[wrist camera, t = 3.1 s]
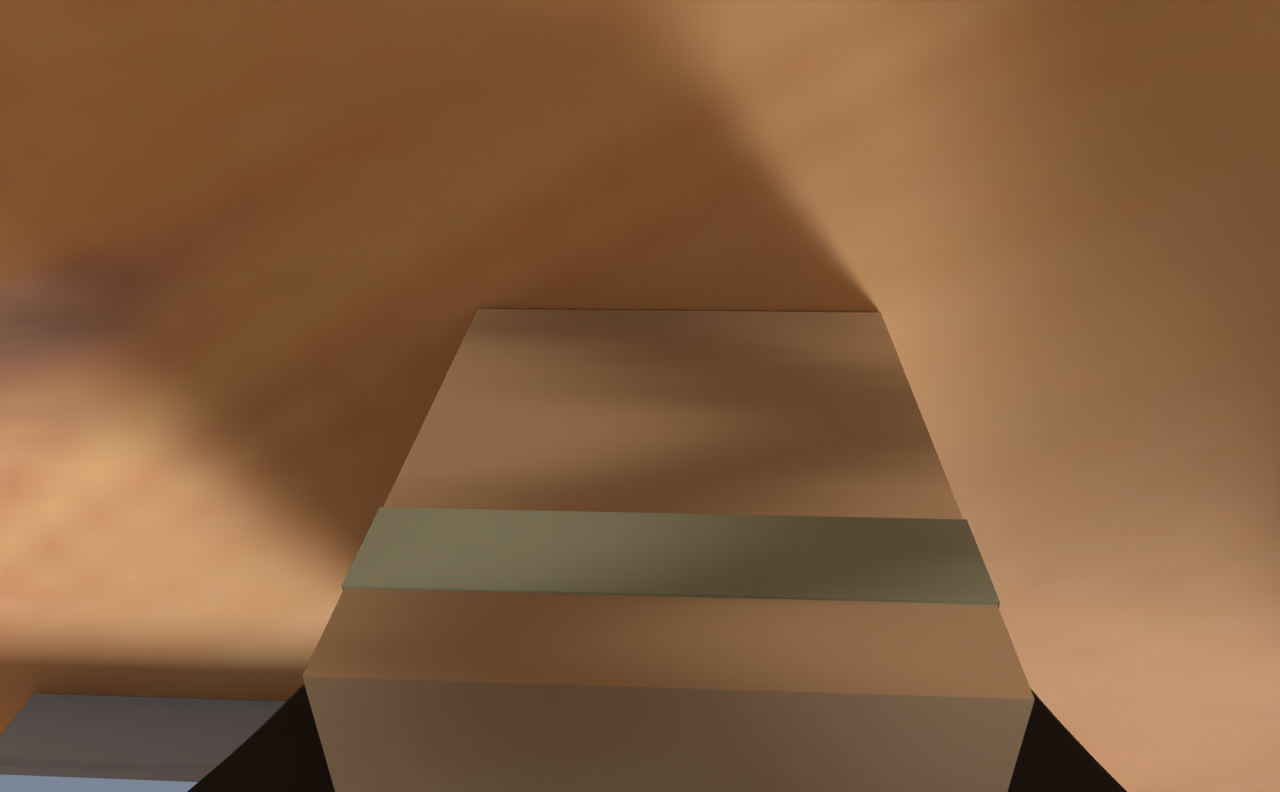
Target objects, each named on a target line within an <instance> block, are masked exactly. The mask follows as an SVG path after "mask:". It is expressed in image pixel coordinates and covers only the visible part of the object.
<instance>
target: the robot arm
mask: <svg viewBox="0 0 1280 792" xmlns="http://www.w3.org/2000/svg"><path fill="white" fill-rule="evenodd" d="M1030 689H1031V688H1030ZM1031 691H1032V689H1031ZM1032 694H1033V696H1034V699H1035V700H1034V703H1033V707H1032V710H1031V713H1030V717H1029V720H1028V724H1027V727H1026V730H1025V734H1024V737H1023V741H1022V744H1021V747H1020V751H1019V754H1018V758H1017V761H1016V764H1015V768H1014V771H1013V775H1012V778H1011V781H1010V785H1009V788H1008V792H1127V791H1126V790H1125V789H1124V788H1123V787H1122V786H1121V785H1120V784H1119V783H1118V782H1117V781H1116V780H1115V779H1114V778H1113V777H1112V776H1111V775H1110V774H1109V773H1108V772H1107V771H1106V770H1105V769H1104V768H1103V767H1102V766H1101V765H1100V764H1099V763H1098V762H1097V761H1096V760H1095V759H1094V758H1093V757H1092V756H1091V755H1090V754H1089V753H1088V751H1087V750H1086V749H1085V748H1084V747H1083V746H1082V745H1081V744H1080V743H1079V742H1078V741H1077V740H1076V739H1075V738H1074V737H1073V735H1072V734H1071V733H1070V732H1069V731H1068V730H1067V729H1066V728H1065V727H1064V726H1063V725H1062V724H1061V723H1060V721H1059V720H1058V719H1057V718H1056V717H1055V716H1054V715H1053V714H1052V712H1051V711H1050V710H1049V709H1048V708H1047V707H1046V706H1045V705H1044V703H1043V702H1042V701H1041V700H1040V699H1039V698H1038V697H1037V695H1036V694H1035V693H1034V692H1033V691H1032ZM187 792H335V790H334V786H333V782H332V779H331V775H330V772H329V768H328V765H327V761H326V758H325V754H324V751H323V747H322V744H321V740H320V737H319V733H318V730H317V726H316V723H315V719H314V716H313V712H312V709H311V705H310V702H309V698H308V695H307V691H306V688H305V684H303V685H302V686H301V687H300V688H299V689H298V690H297V691H296V692H295V693H294V694H293V695H292V696H291V697H290V698H289V699H288V700H287V701H286V702H285V703H284V704H283V705H282V706H281V707H280V708H279V709H278V710H277V711H276V712H275V713H274V714H273V715H272V716H271V717H270V718H269V719H268V720H267V721H266V722H265V723H264V724H263V725H262V726H261V727H260V728H259V729H258V730H256V731H255V732H254V733H253V734H252V735H251V736H250V737H249V738H248V739H247V740H246V741H245V742H243V743H242V744H241V745H240V746H239V747H238V748H237V749H236V750H235V751H233V752H232V753H231V754H230V755H229V756H228V757H227V758H226V759H225V760H223V761H222V762H221V763H220V764H219V765H218V766H216V767H215V768H214V769H213V770H212V771H211V772H209V773H208V774H207V775H206V776H205V777H204V778H202V779H201V780H200V781H199V782H198V783H197V784H195V785H194V786H193V787H192V788H191V789H189V790H188V791H187Z"/></svg>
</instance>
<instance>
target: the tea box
mask: <svg viewBox="0 0 1280 792" xmlns="http://www.w3.org/2000/svg"><path fill="white" fill-rule="evenodd" d="M342 589H343V592H342V594H341V596H340V599H339V601H338V603H337V605H336V607H335V609H334V611H333V613H332V615H331V617H330V619H329V622H328V624H327V626H326V628H325V630H324V632H323V634H322V636H321V638H320V640H319V642H318V645H317V647H316V649H315V651H314V653H313V655H312V657H311V659H310V661H309V663H308V665H307V668H306V670H305V672H304V674H303V676H302V677H303V681H304V684H305V688H306V691H307V695H308V698H309V702H310V705H311V709H312V712H313V716H314V719H315V723H316V726H317V730H318V733H319V737H320V740H321V744H322V747H323V751H324V754H325V758H326V761H327V765H328V768H329V772H330V775H331V779H332V782H333V786H334V790H335V792H1008V788H1009V785H1010V781H1011V778H1012V775H1013V771H1014V768H1015V764H1016V761H1017V758H1018V754H1019V751H1020V747H1021V744H1022V741H1023V737H1024V734H1025V730H1026V727H1027V724H1028V720H1029V717H1030V713H1031V710H1032V707H1033V703H1034V700H1035V699H1034V696H1033V694H1032V691H1031V689H1030V686H1029V684H1028V681H1027V679H1026V676H1025V674H1024V671H1023V669H1022V666H1021V664H1020V661H1019V659H1018V656H1017V654H1016V651H1015V649H1014V646H1013V644H1012V641H1011V639H1010V636H1009V634H1008V631H1007V629H1006V626H1005V624H1004V621H1003V619H1002V616H1001V614H1000V611H999V605H1000V601H999V599H998V596H997V594H996V591H995V589H994V586H993V584H992V581H991V579H990V576H989V574H988V571H987V569H986V566H985V564H984V562H983V559H982V557H981V554H980V552H979V549H978V547H977V544H976V542H975V539H974V537H973V534H972V532H971V529H970V527H969V524H968V522H967V520H966V519H963V518H962V516H961V513H960V511H959V508H958V506H957V503H956V501H955V498H954V496H953V493H952V491H951V488H950V486H949V483H948V481H947V478H946V476H945V473H944V471H943V468H942V466H941V463H940V461H939V458H938V455H937V453H936V450H935V448H934V445H933V443H932V440H931V438H930V435H929V433H928V430H927V428H926V425H925V423H924V420H923V418H922V415H921V413H920V410H919V408H918V405H917V403H916V400H915V398H914V395H913V393H912V390H911V388H910V385H909V383H908V380H907V378H906V375H905V373H904V370H903V368H902V365H901V363H900V360H899V358H898V355H897V353H896V350H895V348H894V345H893V343H892V340H891V338H890V335H889V333H888V330H887V327H886V325H885V322H884V320H883V317H882V315H881V312H779V311H672V310H565V309H478V310H477V312H476V314H475V316H474V318H473V320H472V322H471V324H470V326H469V328H468V331H467V333H466V335H465V337H464V339H463V341H462V343H461V345H460V347H459V349H458V351H457V354H456V356H455V358H454V360H453V362H452V364H451V366H450V368H449V370H448V372H447V374H446V377H445V379H444V381H443V383H442V385H441V387H440V389H439V391H438V393H437V395H436V398H435V400H434V402H433V404H432V406H431V408H430V410H429V412H428V414H427V416H426V418H425V421H424V423H423V425H422V427H421V429H420V431H419V433H418V435H417V437H416V439H415V441H414V444H413V446H412V448H411V450H410V452H409V454H408V456H407V458H406V460H405V462H404V465H403V467H402V469H401V471H400V473H399V475H398V477H397V479H396V481H395V483H394V485H393V488H392V490H391V492H390V494H389V496H388V498H387V500H386V502H385V504H384V506H383V507H379V509H378V512H377V514H376V516H375V518H374V520H373V522H372V524H371V526H370V528H369V530H368V532H367V534H366V536H365V538H364V541H363V543H362V545H361V547H360V549H359V551H358V553H357V555H356V557H355V559H354V561H353V563H352V565H351V567H350V570H349V572H348V574H347V576H346V578H345V580H344V582H343V584H342Z"/></svg>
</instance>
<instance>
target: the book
mask: <svg viewBox="0 0 1280 792" xmlns="http://www.w3.org/2000/svg"><path fill="white" fill-rule="evenodd" d="M285 702H286V701H256V700H226V699H195V698H165V697H134V696H103V695H73V694H42V693H34V694H33V695H32V696H31V698H30V699H29V700H28V701H27V703H26V704H25V705H24V707H23V708H22V709H21V710H20V712H19V713H18V714H17V715H16V717H15V718H14V719H13V721H12V722H11V723H10V724H9V726H8V727H7V728H6V729H5V731H4V732H3V733H2V734H1V736H0V792H187V791H188V790H189V789H191V788H192V787H193V786H194V785H195V784H197V783H198V782H199V781H200V780H201V779H202V778H204V777H205V776H206V775H207V774H208V773H209V772H211V771H212V770H213V769H214V768H215V767H216V766H218V765H219V764H220V763H221V762H222V761H223V760H225V759H226V758H227V757H228V756H229V755H230V754H231V753H232V752H233V751H235V750H236V749H237V748H238V747H239V746H240V745H241V744H242V743H243V742H245V741H246V740H247V739H248V738H249V737H250V736H251V735H252V734H253V733H254V732H255V731H256V730H258V729H259V728H260V727H261V726H262V725H263V724H264V723H265V722H266V721H267V720H268V719H269V718H270V717H271V716H272V715H273V714H274V713H275V712H276V711H277V710H278V709H279V708H280V707H281V706H282V705H283V704H284V703H285Z"/></svg>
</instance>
